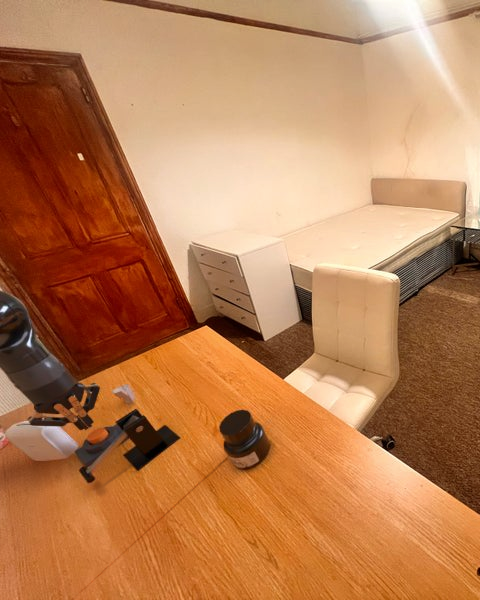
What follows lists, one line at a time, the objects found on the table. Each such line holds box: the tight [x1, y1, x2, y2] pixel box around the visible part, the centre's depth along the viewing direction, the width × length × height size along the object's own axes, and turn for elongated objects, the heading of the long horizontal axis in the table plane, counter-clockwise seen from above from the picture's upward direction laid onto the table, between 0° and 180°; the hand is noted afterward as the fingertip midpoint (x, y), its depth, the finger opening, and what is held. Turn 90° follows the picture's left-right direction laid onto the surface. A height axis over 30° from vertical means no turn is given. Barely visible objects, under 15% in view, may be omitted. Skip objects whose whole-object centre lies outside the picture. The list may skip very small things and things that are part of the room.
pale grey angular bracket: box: [112, 384, 136, 405], centre depth 92 cm, size 7×2×8 cm, turn 35°
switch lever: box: [78, 415, 139, 484], centre depth 72 cm, size 14×5×2 cm, turn 148°
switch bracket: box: [115, 408, 181, 472], centre depth 76 cm, size 10×8×12 cm
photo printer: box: [4, 420, 80, 462], centre depth 77 cm, size 10×4×12 cm, turn 89°
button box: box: [74, 423, 130, 468], centre depth 80 cm, size 10×7×4 cm
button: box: [86, 427, 109, 445], centre depth 79 cm, size 4×4×2 cm
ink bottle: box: [218, 409, 271, 470], centre depth 74 cm, size 10×9×12 cm
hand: (87, 426), depth 76 cm, fingers closed
